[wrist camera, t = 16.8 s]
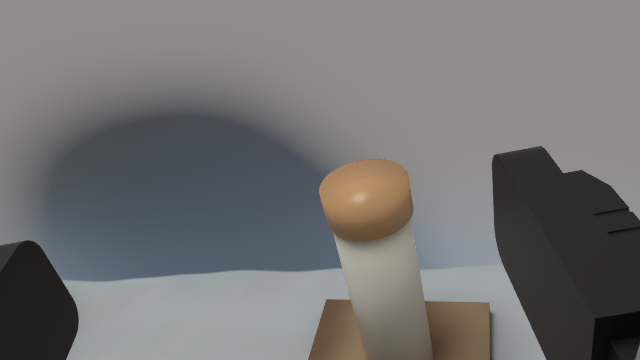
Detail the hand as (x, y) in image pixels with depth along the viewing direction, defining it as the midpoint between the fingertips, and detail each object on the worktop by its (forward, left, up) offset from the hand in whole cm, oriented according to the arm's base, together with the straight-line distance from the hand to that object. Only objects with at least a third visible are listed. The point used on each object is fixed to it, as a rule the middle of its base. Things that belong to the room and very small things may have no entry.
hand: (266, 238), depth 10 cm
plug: (-3, +17, -24) cm, 30 cm away
